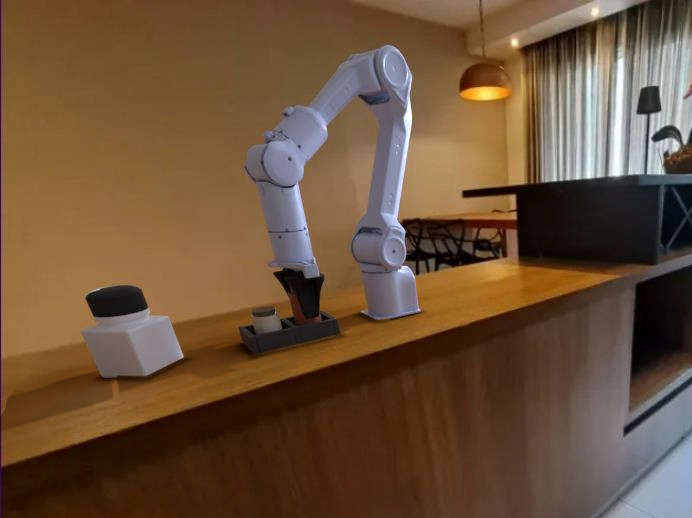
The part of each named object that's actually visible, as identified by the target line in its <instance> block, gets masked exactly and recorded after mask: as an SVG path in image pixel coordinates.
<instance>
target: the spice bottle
mask: <svg viewBox="0 0 692 518" xmlns="http://www.w3.org/2000/svg"><path fill="white" fill-rule="evenodd" d="M290 289H291V291H290V292H288V295H289V297H288V299H289V303H290V306H291V311H292V315H293V316H294V320H295V324H296V326H300V325H305V324H309V323H314V322H319V321H322V318H321V314H320V313H319V317H314V318H309V319H306V318H305V316H304V314H303V312H302V310H301V307H300V305H299V302H298V299H297V297H296V295H295V293H294V291H293V290H292V288H291V287H290ZM288 295H287V296H288Z"/></svg>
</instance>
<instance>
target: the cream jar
mask: <svg viewBox="0 0 692 518" xmlns="http://www.w3.org/2000/svg"><path fill="white" fill-rule="evenodd" d="M276 309H277V308H276V307H275V306H270V305H269V306H259V307H256V308H252V309H251V314H250V320H251V323H252V324H253V326H254V330H255V333H256V335H259V334H263V333H268V332H273V331H277V330H282V329H283V328H282V324H281V320H280V319H281V317H280V313H279V311H277V310H276Z"/></svg>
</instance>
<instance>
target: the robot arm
mask: <svg viewBox="0 0 692 518" xmlns="http://www.w3.org/2000/svg"><path fill="white" fill-rule="evenodd" d="M412 81H413V74H412V72H411V70H410V68H409V65H408V64H407V62H406V59H405V57H404V55H403V54H402V53H401V51H400V50H399V49H398V48H396V46H393V45H390V44H384V45H383V46H381V47H379V48H376V49H372V50H369V51H364V52H362V53H353V54H351V55H350V56H348V57H347V59H346V61H343V62H342V63H340V64H339V66H338V67H337V69H336V70H335V72H334V73H333V75H331V77H330V78H329V79H328V81H327V82H326V83H325V85H324V86H323V87H322V88H321V90H320V91H318V93H317V94H316V95H315V97H314V98H313V100H311V102H310V103H309V104H308V106H303V105H295V106H287V107H285V108H284V109H283V110H282V112H281V114H282V116H283V118H282V119H281V120H280V122H279V123H277V125H275V127H274V128H273V129H272V130H266V131H265V132H264V133H263V134H262V137H263V139H264V140H263V141H264V143H261V144H260V143H259V144H254V145H252V146H251V147H250V148H248V150H247V152H246V154H245V157H246V159H245V164H243V166H242V167H243V169H244V172H245V173H246V175H247V177H248V178H249V179H250V180H251V181H252V182H253V184H254V185H255V186H256V189H257V193H258V196H259V201H260V205H261V209H262V214H263V218H264V221H265V226H266V230H267V233H268V237H269V241H270V246H271V249H272V253H273V257H274V260H270V261H269V260H268V261H267V262H266V263H267V266H268V267H269V268H281V270H277V271H274V272H272V274H273V276H274V278H276V280H277V281H278V282H279V283H280V285H281V286H282V288H283V289H284V292H285V293H286V294H287V298H289V295H288V292H290V291H291V289H290V287H291V288H292V290H293V291H294V293H295V295H296V297H297V299H298V302H299V305H300V307H301V310H302V312H303V314H304V316H305V318H306V319H309V318H314V317H319V313H320V311H321V293H322V288H323V285H324V282H325V280H326V279H325V277H326V276H325V274H324V273H322V272H321V273H320V272H319V267H318V264H317V260H316V259H317V258H316V257H315V256H314V252H313V247H312V242H311V238H310V237H311V236H310V233H309V232H310V231H309V227H308V224H307V219H306V214H305V209H304V205H303V200H302V196H301V191H300V186H299V182H301V181H302V180H303V178H304V173H305V165H306V164H307V163H308V162H309V161H310V160H311V159H312V157H313V156H314V155H315V154H316V153H317V152H318V151H319V149H320V148H321V147H322V146H323V145H324V143H325V142H326V141H327V140H328V128H327V127H328V126H329V124H330V123H331V122H332V121H333V120H334V119H335V118H336V117H337V116H338V115H339V114H340V113H341V112H342V111H343V110H344V109H345V108H346V107H347V106H348V105H349V104H350V102H352V101H353V100H354V99H355V98H356V97H357V98H358V99H359V100H360V101H361V103H362V104H364V106H365V107H366V108H367V110H369V112H371V114H372V115H373V116H374V117H375V118H376V120H377V121H378V130H377V136H376V144H375V151H374V158H373V165H372V173H371V179H370V186H369V193H368V199H367V200H368V201H367V207H366V212H365V214H364V215H363V216H362V217H361V218H360V219H359V220H358V221H357V223H356V230H355V232H354V234H353V235H352V237H351V239H350V242H349V252H350V256H351V257H352V259H353V260H354V261H355V262H356V263H358V267H359V269H360V270H361V272H360V273H361V279H362V285H363V289H364V296H365V301H366V308H367V309H364V310H361V311H359V312H360V313H361V314H364V315H366V316H368V317H370V318H372V319H373V320H377V321H380V320H384V319H387V320H392V319H396V318H400V317H404V316H408V315H412V314H418V313H421V308H419V302H418V301H419V299H418V291H417V283H416V278H415V275H414V272H413V270H412V269H411V268H410V267H409V266H407V265H403V264H404V263H405V260H406V258H407V247H406V243H405V241H406V238H405V237H406V230H405V229H404V227H403V226H402V225H401V223H400V221H398V216H399V209H400V203H401V198H402V197H401V196H402V191H403V184H404V178H405V172H406V164H407V158H408V151H409V146H410V145H409V144H410V139H411V131H412V125H413V114H412V106H411V97H410V94H411V88H412V87H411V86H412Z"/></svg>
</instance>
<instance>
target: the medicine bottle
mask: <svg viewBox="0 0 692 518" xmlns="http://www.w3.org/2000/svg"><path fill="white" fill-rule="evenodd" d="M84 299H85V302H86V304H87V306H88V308H89V310H90V312H91V315H92V317H93V319H94V321H95V322H96V323H98V324H95V325H92V326H88V327H85V328H83V329H81V330H80V334H81V336H82V338H83V340H84V342H85V344H86V347H87V349H88V351H89V353H90V355H91V357H92V359H93V362H94V363H95V366H96V368H97V370H98V372H99V374H100V376H101V377H102V378H106V379H118V376H121V377H122V376H124V377H125V376H126V377H128V376H129V377H145V376H146V377H147V376H149V375H151V374H153V373H155V372H157V371H159V370H162V369H163V368H165V367H167V366H170V365H172V364H173V363H175V362H177V361H179V360H181V359H184V358H185V356H184V353H183V351H182V349H181V346H180V343H179V340H178V337H177V335H176V333H175V330H174V327H173V324H172V322H171V319H170V317H169V316H168V315H149V314H151V310H150V308H149V305H148V302H147V300H146V297H145V295H144V292H143V290H142V288H140V287H139V286H135V285H131V284H119V285H110V286H104V287H99V288H94V289H92V290H91V291H88V293H86V294H85V296H84Z"/></svg>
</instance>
